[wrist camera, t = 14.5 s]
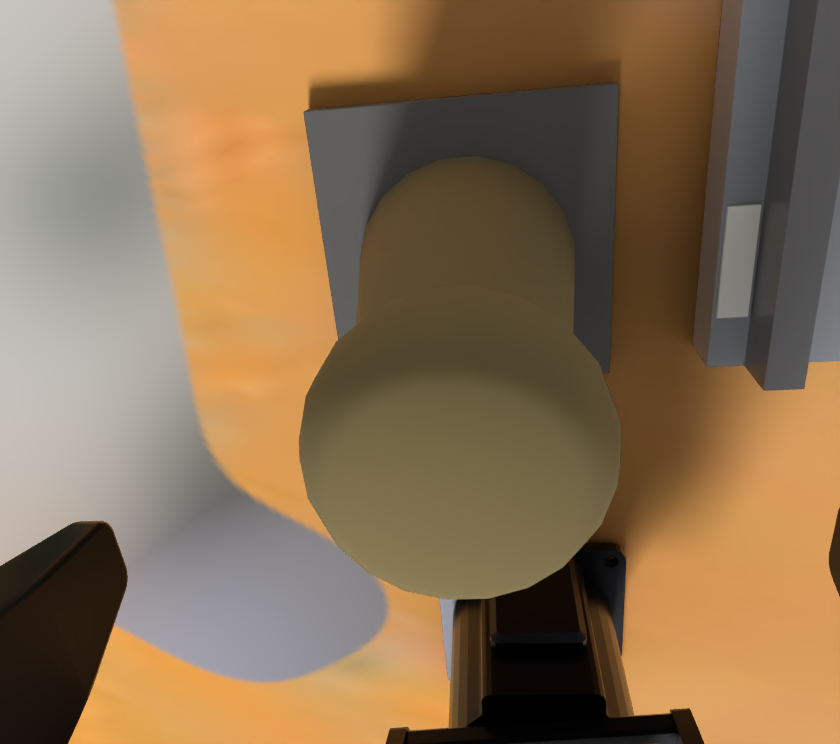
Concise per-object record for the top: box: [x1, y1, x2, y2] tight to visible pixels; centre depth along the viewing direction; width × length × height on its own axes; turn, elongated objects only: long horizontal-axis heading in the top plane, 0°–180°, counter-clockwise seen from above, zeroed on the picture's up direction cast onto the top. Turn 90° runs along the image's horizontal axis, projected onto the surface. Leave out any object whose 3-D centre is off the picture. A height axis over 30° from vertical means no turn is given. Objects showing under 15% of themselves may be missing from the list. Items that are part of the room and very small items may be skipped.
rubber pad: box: [304, 82, 619, 373], centre depth 20 cm, size 8×8×1 cm
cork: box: [299, 156, 621, 600], centre depth 15 cm, size 6×6×11 cm
